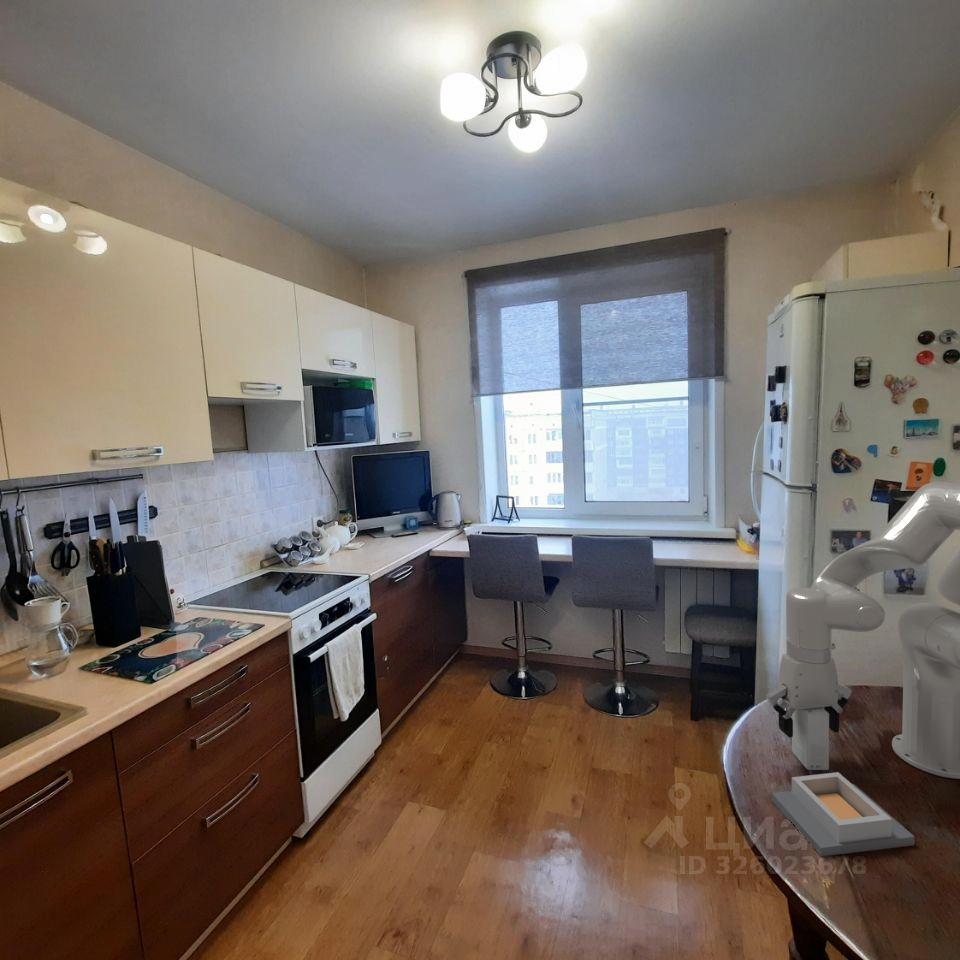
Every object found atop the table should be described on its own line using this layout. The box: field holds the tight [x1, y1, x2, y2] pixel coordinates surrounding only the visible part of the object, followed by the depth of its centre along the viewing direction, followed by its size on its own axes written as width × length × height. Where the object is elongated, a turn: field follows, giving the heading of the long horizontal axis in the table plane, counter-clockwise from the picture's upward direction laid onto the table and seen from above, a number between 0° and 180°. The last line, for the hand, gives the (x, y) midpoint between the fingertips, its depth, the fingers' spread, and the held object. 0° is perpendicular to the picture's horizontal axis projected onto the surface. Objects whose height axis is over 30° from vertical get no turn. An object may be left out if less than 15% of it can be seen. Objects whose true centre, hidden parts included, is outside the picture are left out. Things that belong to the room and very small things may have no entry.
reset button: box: [816, 793, 862, 820], centre depth 85 cm, size 6×8×2 cm
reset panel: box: [771, 771, 915, 857], centre depth 85 cm, size 16×12×5 cm
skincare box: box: [791, 707, 830, 771], centre depth 99 cm, size 6×4×12 cm
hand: (808, 730), depth 99 cm, fingers open, 9 cm apart
